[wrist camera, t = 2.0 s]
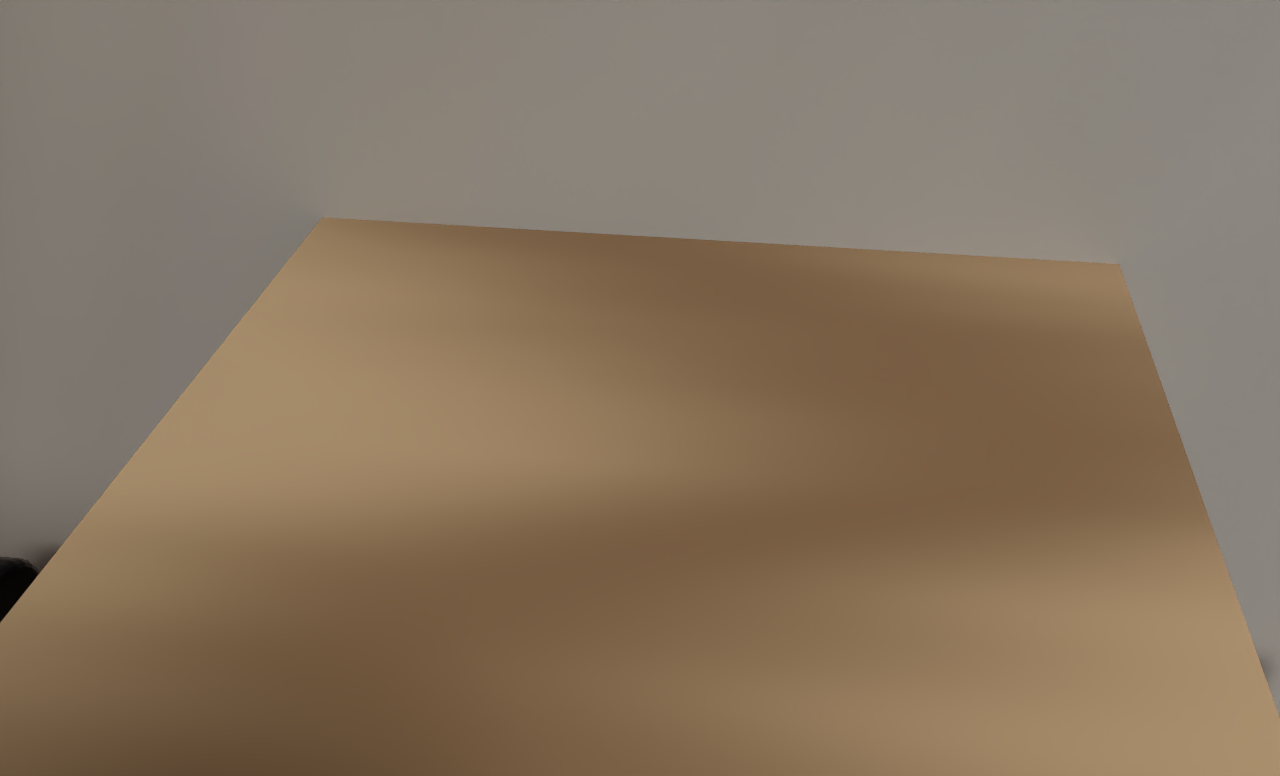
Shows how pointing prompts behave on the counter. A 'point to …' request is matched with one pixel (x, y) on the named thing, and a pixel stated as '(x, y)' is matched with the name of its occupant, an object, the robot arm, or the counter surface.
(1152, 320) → the counter surface
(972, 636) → the oak block
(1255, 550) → the counter surface
